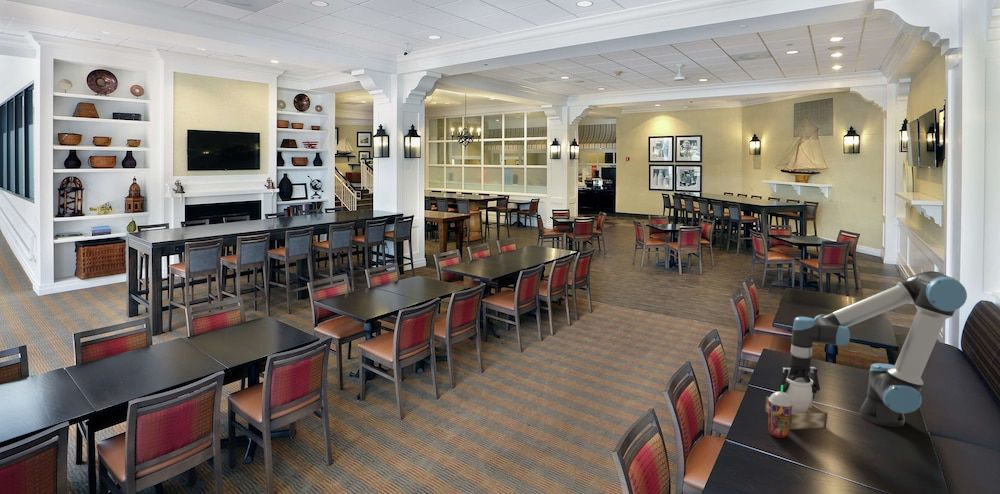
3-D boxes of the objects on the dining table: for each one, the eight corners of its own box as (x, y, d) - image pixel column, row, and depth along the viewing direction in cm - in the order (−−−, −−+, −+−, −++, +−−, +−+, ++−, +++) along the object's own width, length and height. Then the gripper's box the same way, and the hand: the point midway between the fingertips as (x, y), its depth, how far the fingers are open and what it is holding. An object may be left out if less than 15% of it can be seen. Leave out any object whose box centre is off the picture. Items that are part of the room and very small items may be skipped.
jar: (815, 417, 219) (819, 382, 216) (794, 420, 216) (797, 384, 214) (795, 406, 229) (799, 372, 227) (775, 408, 227) (778, 374, 224)
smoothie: (780, 441, 204) (785, 391, 201) (760, 431, 212) (765, 383, 209) (794, 436, 208) (799, 387, 205) (774, 427, 216) (779, 379, 212)
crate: (799, 409, 232) (801, 395, 231) (826, 428, 215) (827, 413, 214) (764, 410, 230) (766, 396, 229) (788, 429, 214) (790, 414, 213)
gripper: (821, 351, 223) (816, 402, 227) (768, 352, 221) (764, 403, 225) (834, 357, 216) (828, 410, 219) (779, 359, 214) (774, 411, 217)
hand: (795, 406), depth 222 cm, fingers closed on jar, 10 cm apart
